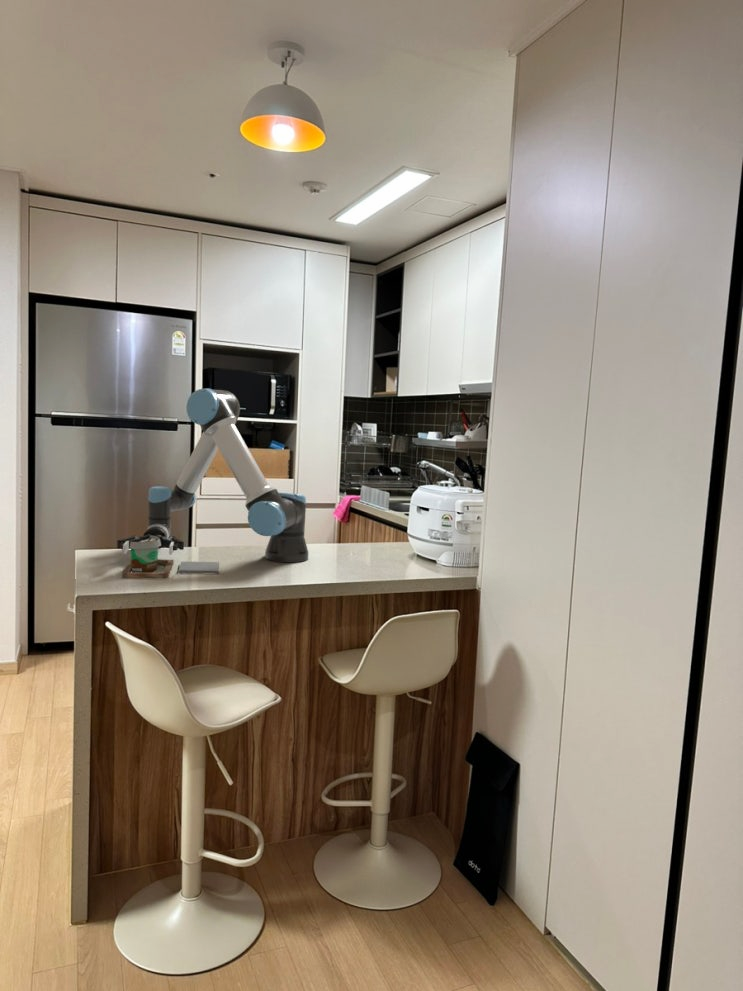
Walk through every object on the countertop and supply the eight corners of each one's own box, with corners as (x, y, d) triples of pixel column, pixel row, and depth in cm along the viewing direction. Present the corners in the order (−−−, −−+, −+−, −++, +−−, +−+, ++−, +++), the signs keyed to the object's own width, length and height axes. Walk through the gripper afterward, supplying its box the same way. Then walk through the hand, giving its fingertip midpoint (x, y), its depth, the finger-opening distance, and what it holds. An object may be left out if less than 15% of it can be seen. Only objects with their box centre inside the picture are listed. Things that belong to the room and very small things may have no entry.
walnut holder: (173, 564, 223) (173, 559, 223) (167, 578, 205) (167, 573, 205) (131, 563, 221) (131, 559, 221) (122, 578, 202) (122, 573, 202)
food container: (147, 576, 206) (148, 543, 205) (129, 574, 208) (129, 541, 206) (167, 567, 218) (168, 536, 217) (150, 565, 220) (150, 535, 218)
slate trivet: (219, 565, 226) (219, 562, 226) (218, 573, 214) (218, 570, 214) (181, 564, 223) (181, 561, 223) (178, 573, 212) (178, 570, 212)
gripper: (193, 548, 234) (189, 562, 213) (116, 547, 229) (104, 561, 208) (194, 526, 233) (189, 538, 212) (116, 525, 228) (104, 537, 207)
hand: (147, 550), depth 210 cm, fingers open, 13 cm apart
